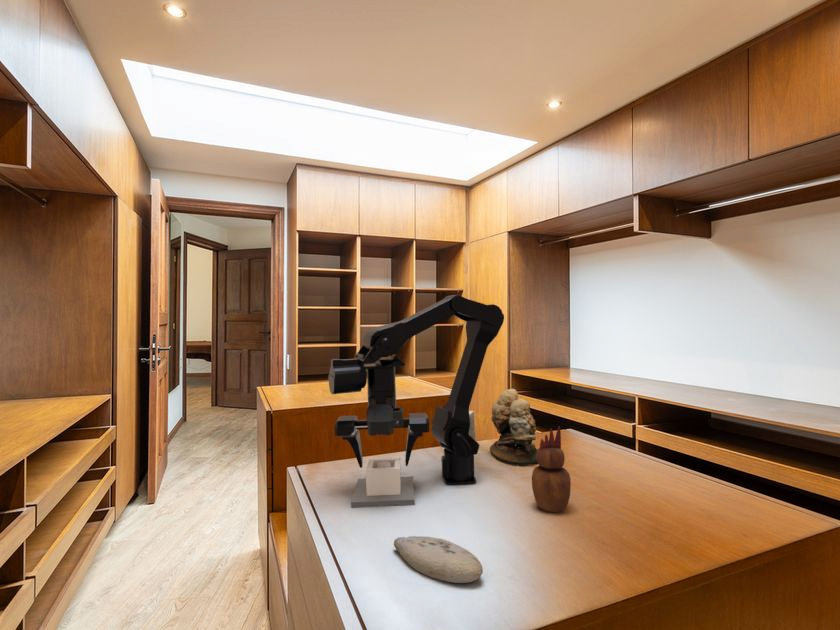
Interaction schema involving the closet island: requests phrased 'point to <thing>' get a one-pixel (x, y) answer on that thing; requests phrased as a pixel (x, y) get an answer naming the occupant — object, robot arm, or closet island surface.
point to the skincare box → (472, 425)
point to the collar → (383, 477)
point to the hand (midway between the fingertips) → (384, 466)
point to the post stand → (384, 500)
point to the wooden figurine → (551, 475)
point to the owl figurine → (513, 430)
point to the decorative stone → (439, 558)
